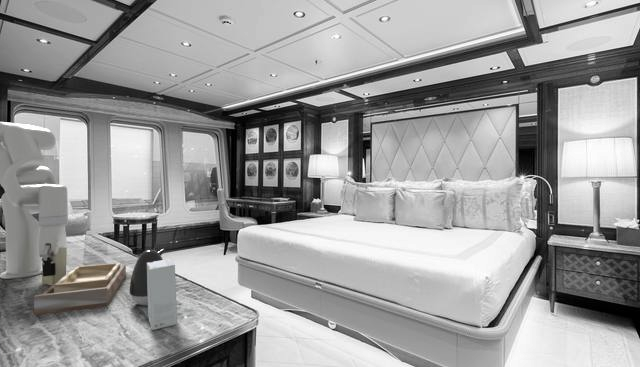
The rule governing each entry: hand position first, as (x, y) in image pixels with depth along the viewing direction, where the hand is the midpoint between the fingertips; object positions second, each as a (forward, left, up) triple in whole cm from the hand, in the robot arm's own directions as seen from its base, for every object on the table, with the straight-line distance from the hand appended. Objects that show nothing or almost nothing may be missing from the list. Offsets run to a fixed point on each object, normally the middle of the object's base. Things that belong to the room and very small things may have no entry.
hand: (54, 271), depth 107 cm
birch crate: (+11, +13, -3) cm, 17 cm away
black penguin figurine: (+31, +32, -4) cm, 45 cm away
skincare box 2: (+46, +36, -4) cm, 58 cm away
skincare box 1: (0, 0, -4) cm, 4 cm away
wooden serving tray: (+15, +13, -4) cm, 20 cm away
